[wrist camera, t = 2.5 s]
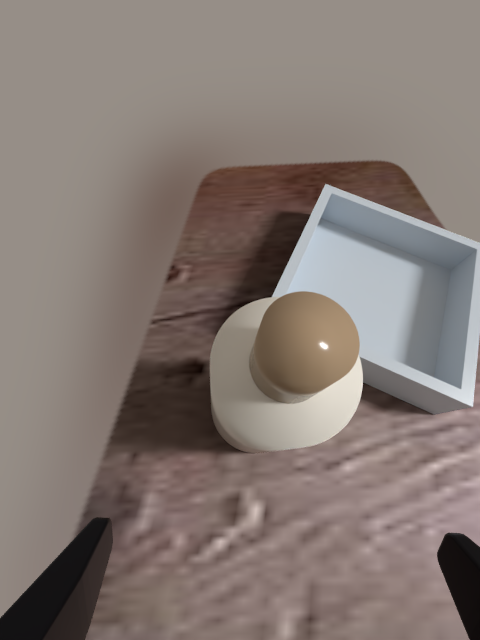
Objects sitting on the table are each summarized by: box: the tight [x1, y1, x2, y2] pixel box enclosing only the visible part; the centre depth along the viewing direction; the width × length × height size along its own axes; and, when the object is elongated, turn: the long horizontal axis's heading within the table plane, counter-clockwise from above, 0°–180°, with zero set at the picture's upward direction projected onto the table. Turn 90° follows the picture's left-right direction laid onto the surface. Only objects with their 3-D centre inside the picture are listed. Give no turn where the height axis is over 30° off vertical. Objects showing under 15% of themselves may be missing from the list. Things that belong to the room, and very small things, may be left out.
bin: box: [272, 184, 480, 415], centre depth 23 cm, size 14×14×4 cm
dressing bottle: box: [210, 291, 363, 453], centre depth 15 cm, size 6×6×13 cm
